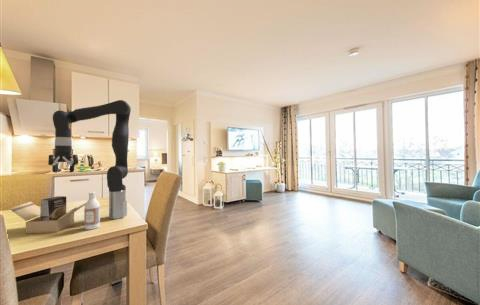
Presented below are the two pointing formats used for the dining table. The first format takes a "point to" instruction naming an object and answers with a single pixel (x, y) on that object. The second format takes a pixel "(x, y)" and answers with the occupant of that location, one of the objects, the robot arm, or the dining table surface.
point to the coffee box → (52, 208)
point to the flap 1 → (26, 210)
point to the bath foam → (92, 212)
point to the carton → (48, 225)
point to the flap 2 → (73, 210)
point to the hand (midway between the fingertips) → (63, 172)
